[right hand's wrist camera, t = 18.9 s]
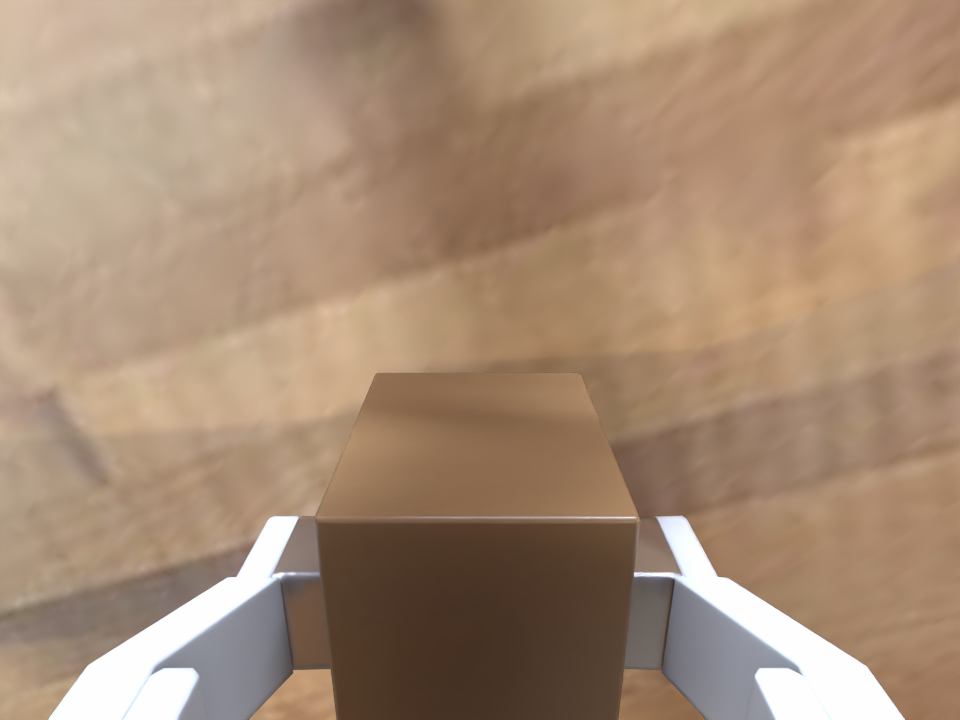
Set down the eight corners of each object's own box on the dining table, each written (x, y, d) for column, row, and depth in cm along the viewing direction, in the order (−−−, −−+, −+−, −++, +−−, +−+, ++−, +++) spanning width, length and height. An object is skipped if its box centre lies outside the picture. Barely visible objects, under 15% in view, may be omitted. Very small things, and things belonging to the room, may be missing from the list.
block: (387, 563, 14) (341, 781, 9) (375, 371, 12) (312, 518, 8) (568, 563, 14) (613, 780, 9) (580, 371, 12) (643, 518, 8)
